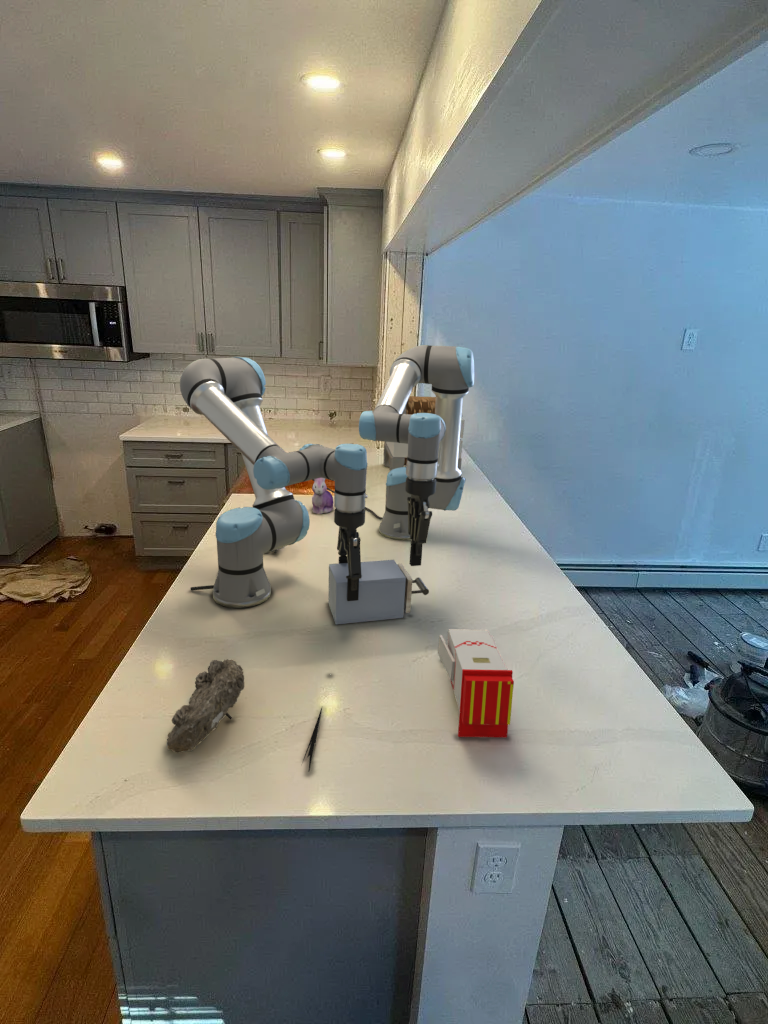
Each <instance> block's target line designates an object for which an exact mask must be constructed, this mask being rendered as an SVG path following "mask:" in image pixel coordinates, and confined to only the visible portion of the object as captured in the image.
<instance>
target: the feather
mask: <svg viewBox="0 0 768 1024" xmlns="http://www.w3.org/2000/svg"><path fill="white" fill-rule="evenodd" d="M329 675H330V676H331V675H332V674H331V673H330V674H329ZM322 710H323V707H321V708H320V710H319V713H318V716H317V719H316V723H315V725H314V728H313V731H312V733H311V737H310V739H309V742H308V745H307V748H306V751H305V754H304V757H303V760H302V763H301V767H302V765H303V763H304V761H305V758H308V759H309V760H308V762H307V763H308V764H307V766H308V771H310V770H311V766H312V765H311V764H312V760H313V757H315V756H314V755H315V751H316V749H315V746H317V739H318V733H319V729H320V722H321V717H322V712H323V711H322ZM313 754H314V755H313ZM306 755H307V757H306Z"/></svg>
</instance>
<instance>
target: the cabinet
mask: <svg viewBox="0 0 768 1024" xmlns="http://www.w3.org/2000/svg"><path fill="white" fill-rule="evenodd" d="M397 564H398V563H397V562H396V560H395V559H384V560H382V559H381V560H368V561H361V575H362V578H360V579H359V596H358V600H356V601H347V579H346V576H349V572H348V563H339V562H338V563H329V564H328V591H327V593H328V597H327V600H328V606H329V610H330V613H331V615H332V618H333V621H334V623H335V625H345V624H346V625H347V624H354V623H364V622H375V621H384V620H394V619H404V614H405V613H404V612H405V610H404V599H405V583H406V577H405V576H404V574H403V573H402V571H401V569H400V568H399V566H398V565H397Z"/></svg>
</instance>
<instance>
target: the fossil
mask: <svg viewBox="0 0 768 1024" xmlns="http://www.w3.org/2000/svg"><path fill="white" fill-rule="evenodd" d="M243 670H244V669H243V667H242V665H240V664H237V662H236V661H235V660H234V659H232V658H231V659H227V658H226V659H224V660H223V661H222V660H217V659H212V660H211V661H210V663H209V665H208V666H207V671H201V672H199V673H198V674H197V675H196V676H195V680H194V684H195V685H194V687H195V689H194V690H193V693H192V694H191V697H190V698H189V700H188V704H184V705H182V706H181V707H180V709H177V710H176V711H175V713H174V715H173V716H172V718H171V723H172V724H173V727H172V730H171V731H170V732H168V734H167V738H166V741H167V742H166V745H167V749H168V750H169V751H173V752H174V753H176V754H178V753H182V752H188V751H189V752H192V751H193V750H195V748H196V747H197V746H199V744H200V743H201V742H203V741H204V740H205V739H206V738H207V737H208V736H209V735H210V734H211V733H212V732H214V730H215V729H217V727H218V726H219V724H220V722H221V721H222V720H223V719H224V718H225V716H226V717H227V719H229V720H233V717H232V715H230V714H229V710H230V709H231V708H234V706H235V704H236V703H237V702H238V699H239V697H240V695H241V693H242V691H243V690H245V689H244V688H245V675H244V671H243Z"/></svg>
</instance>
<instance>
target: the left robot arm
mask: <svg viewBox="0 0 768 1024" xmlns="http://www.w3.org/2000/svg"><path fill="white" fill-rule="evenodd" d="M266 382H267V381H266V377H265V374H264V371H263V369H262V367H261V366H260V365H259V364H258V363H257V362H256V361H255V360H253V359H251V358H249V357H240V356H233V357H215V358H214V357H213V358H199V359H196V360H194V361H192V362H190V363H189V364H188V365H186V367H185V368H184V370H183V371H182V373H181V376H180V380H179V389H180V394H181V397H182V399H183V400H184V402H185V404H186V405H187V406H188V407H189V409H191V411H193V412H194V413H195V414H196V415H201V416H203V417H205V418H206V420H207V421H208V422H210V424H212V426H214V428H216V429H217V431H219V432H220V433H221V435H223V437H224V438H225V439H226V440H227V441H229V443H231V444H232V446H234V447H235V448H236V449H237V450H238V451H239V452H240V453H241V457H242V460H243V463H244V466H245V470H246V472H247V475H248V479H249V482H250V485H251V488H252V491H253V494H254V497H255V500H254V502H253V504H252V506H243V507H236V508H235V507H234V508H231V509H229V510H226V511H224V512H223V513H221V514H220V515H219V516H218V518H217V520H216V523H215V539H216V551H217V566H218V567H217V568H218V569H217V570H218V571H217V575H216V578H215V581H214V584H211V585H199V586H191V587H190V591H191V592H192V591H202V590H212V598H213V601H214V602H215V603H216V604H218V605H220V606H222V607H226V608H231V609H244V608H245V609H246V608H251V607H254V606H257V605H260V604H262V603H264V602H266V601H267V600H268V599H270V597H271V595H272V586H271V582H270V580H269V577H268V575H267V572H266V570H265V568H264V555H265V554H267V553H270V552H274V551H275V550H276V549H277V550H279V549H282V548H285V547H287V546H292V545H294V544H296V543H297V542H300V541H302V540H303V539H305V537H306V536H307V534H308V531H309V529H310V521H311V520H310V514H309V511H308V509H307V507H306V505H305V504H303V502H302V501H300V500H297V499H295V496H294V493H293V492H291V491H289V490H288V489H286V487H289V486H292V485H296V484H299V483H304V482H308V481H311V480H312V481H313V479H314V480H315V479H316V478H325V480H329V481H333V482H334V490H333V491H334V493H333V508H334V512H333V522H334V524H335V525H336V526H338V535H337V536H338V537H337V545H336V550H337V551H338V552H337V554H338V564H339V563H348V572H349V576H346V579H347V601H356V600H358V596H359V579H360V578H362V575H361V562H362V561H361V560H362V558H361V539H362V538H361V537H360V533H359V531H357V530H358V528H360V527H362V526H364V524H365V523H366V509H364V508H365V507H366V499H368V497H369V496H368V494H366V493H367V474H368V473H367V472H368V454H367V453H368V452H367V449H366V447H365V446H363V445H361V444H358V443H340V444H338V445H336V446H335V448H332V447H328V446H324V445H322V444H319V443H306V444H304V445H303V446H301V447H300V448H299V450H294V451H288V452H286V450H284V449H283V448H282V447H281V446H279V444H278V443H276V441H275V440H273V439H272V437H270V435H269V433H268V430H267V427H266V424H265V420H264V417H263V414H262V412H261V409H260V407H261V405H262V404H263V401H264V399H263V395H264V394H265V392H266V385H267V383H266Z"/></svg>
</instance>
